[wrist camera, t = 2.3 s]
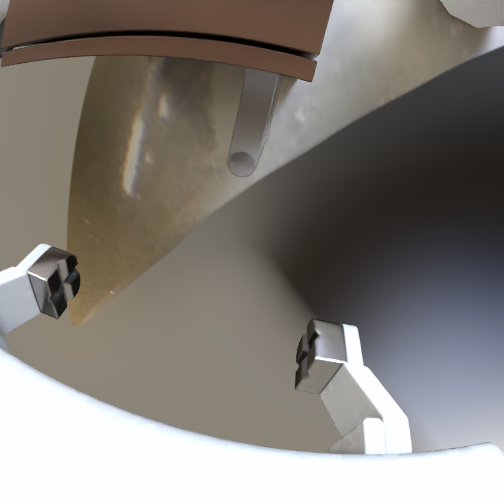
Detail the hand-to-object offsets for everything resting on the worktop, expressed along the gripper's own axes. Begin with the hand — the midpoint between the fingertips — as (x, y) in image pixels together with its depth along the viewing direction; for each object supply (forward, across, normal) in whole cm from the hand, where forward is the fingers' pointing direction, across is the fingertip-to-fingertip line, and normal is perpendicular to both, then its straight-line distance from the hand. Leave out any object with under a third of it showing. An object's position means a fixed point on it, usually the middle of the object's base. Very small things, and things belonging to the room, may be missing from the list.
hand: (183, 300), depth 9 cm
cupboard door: (+28, +7, -4) cm, 30 cm away
